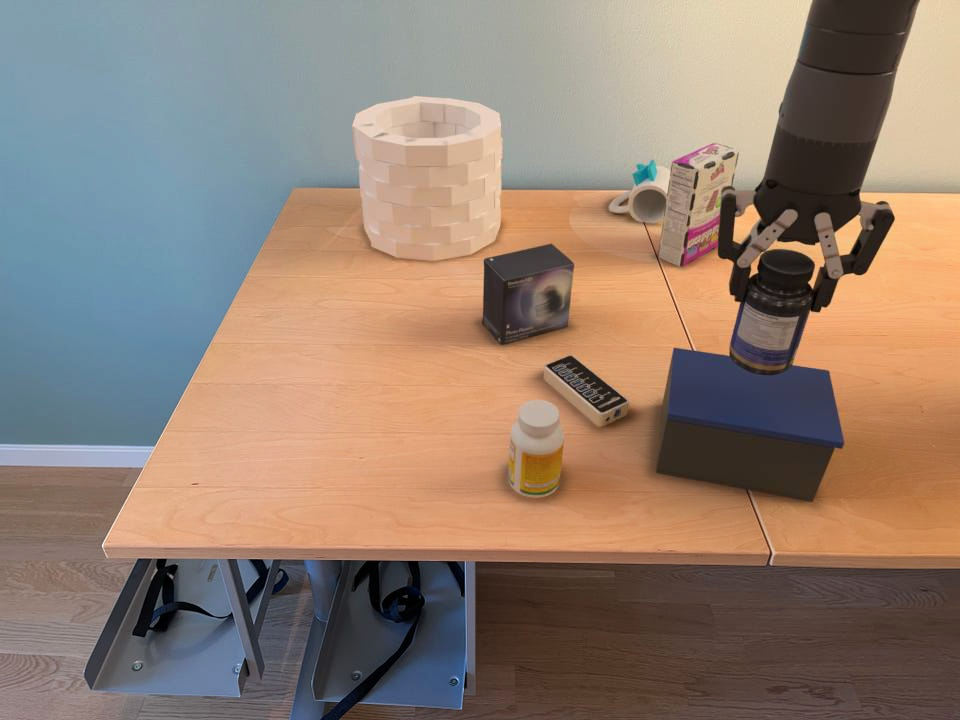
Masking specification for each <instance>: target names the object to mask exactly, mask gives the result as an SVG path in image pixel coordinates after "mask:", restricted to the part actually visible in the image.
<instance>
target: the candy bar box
mask: <svg viewBox="0 0 960 720" xmlns="http://www.w3.org/2000/svg"><path fill="white" fill-rule="evenodd" d="M739 155H740V150H739V149H738V148H733V147H731V146H727V145H722V144H721V143H717V142H712V143H710V144H708V145H705V146H704V147H701V148H698V149H696V150H695V151H692V152H690V153H687V154H686V155H683V156H681V157H679V158H676V159H674V160H672V161H671V165H670V171H671V173H670V180H669V186H668V193H667V199H666V207H665V214H664V219H663V220H662V227H661V234H660V240H659V248H658V252H657V253H658V254H657V258H659V259H662V260H664V261H666V262H668V263H670V264H673V265H675V266H677V267H679V268H683V267H685V266H687V265H688V264H691V263H692V262H694V261H695V260H697V259H699V258H701V257H703V256H704V255H705V254H708V253H710V252H711V251H713V250H715V249H716V248H717V249H718V230H719V216H720V203H721V191H722V189H723V188H724V187H726V186H732V187H733V183H734V178H735V174H736V169H737V163H738V160H739Z"/></svg>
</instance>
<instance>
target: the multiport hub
mask: <svg viewBox="0 0 960 720" xmlns="http://www.w3.org/2000/svg"><path fill="white" fill-rule="evenodd" d="M543 368H544V369H543V380H544V381H545V382H546V383H547V384H548V385H550V386H551V387H552V388H553V389H554V390H556V392H558V393H559V394H560V395H561V396H562V397H563V398H564V399H566V400H567V401H568V402H569V403H570V404H571V405H573V407H575V408H576V410H578V411H579V412H581V414H583V415H584V416H585V417H586V418H587V419H588V420H590V421H591V422H592V423H594V425H595V426H597V427H598V428H603V427H605V426H608V425H609V424H611V423H613V422H616V421H618V420H619V419H620V420H621V419H622V418H624V417H626V416H627V415H628V411H629V406H630V400H629V399H628V398H627V397H626V396H624V395H623V394H622V393H620V391H618V390H617V389H615V388H614V387H613V386H612V385H610V384H609V383H608V382H606V381H605V380H604V379H603V378H602V377H601V376H599V375H598V374H597V373H595V372H594V371H593V370H591V369H590V368H589V367H588V366H586V364H584V363H583V362H581V360H579V359H578V358H577V357H576V356H574V355H571V354H570V355H566V356H563V357H561V358H559V359H556V360H553V361H551V362H549V363H546V364H545V365H544V367H543Z"/></svg>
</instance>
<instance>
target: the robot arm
mask: <svg viewBox="0 0 960 720" xmlns="http://www.w3.org/2000/svg"><path fill="white" fill-rule="evenodd" d="M920 2H921V0H812V1H811V3H810V7H809V11H808V13H807V16H806V22H805V25H804V29H803V33H802V36H801V41H800V44H799V48H798V52H797V58H796V60H795V64H794V66H793V69H792V72H791V74H790V77H789V79H788V82H787V85H786V88H785V90H784V94H783V98H782V101H781V103H780V105H779V109H778V119H777V122H776V126H775V131H774V135H773V138H772V142H771V147H770V151H769V154H768V159H767V163H766V167H765V169H764V175H763V177H762V179H761V181H760V183H759V184H758V185H757V186H756V187H755V188H754V189H753V190H752V189H749V190H736V188H735V187H734V186H733V185H732V186H726V187H724V188H723V189H722V191H721V203H720V216H719V230H718V247H717V256H718V258H719V259H721V260H729V261H731V262H732V263H733V265H732V268H731V273H730V277H729V282H728V292H729V295H730V296H733V297H734V302H735V303H740V302H743V300H744V296H745V292H746V288H747V284H748V281H749V278H750V277H751V272H752V264H753V263H754V262H755V260H757V258H758V257H760V256H761V255H762V254H763V253H764V252H765V251H768V250H769V248H770V247H771V246H772V245H773V244H774V242H778V243H793V242H797V243H800V244H803V245H805V246H813V247H814V246H816V244H820V248H821V253H822V257H823V260H824V264H823V266H819V268H818V273H817V275H816V278H815V280H814V284H813V287H812V289H813V291H814V300H813V303H812V307H811V310H810V312H812V313H818V314H819V313H820V312H821V311H822V308H828V307H829V305H830V304H831V303H832V301H833V297H834V294H835V292H836V289H837V286H838V282H839V280H840V279H841V278H842V277H843V276H846V275H851V274H853V275H855V276H863V275H865V274H866V273H867V272H868V271H869V269H870V267H871V265H872V263H873V261H874V259H875V257H876V256H877V254H878V253H879V250H880V248H881V246H882V245H883V243H884V241H885V239H886V237H887V236H888V233H889V232H890V230H891V228H892V227H893V225H894V222H895V221H896V217H895V214H894V211H893V209H892V207H891V206H890V204H889V202H888V201H885V200H880V201H878V202H876V203H873V202H870V201H869V202H868V201H863V200H861V196H860V195H861V189H862V186H863V184H864V181H865V178H866V175H867V173H868V170H869V166H870V163H871V160H872V158H873V155H874V152H875V150H876V149H875V148H876V147H877V146H876V145H877V143H878V140H879V137H880V134H881V131H882V128H883V126H884V123H885V119H886V116H887V113H888V110H889V108H890V105H891V101H892V97H893V92H894V87H895V82H896V81H895V80H896V76H897V73H898V68H899V66H900V63H901V61H902V57H903V54H904V51H905V48H906V45H907V42H908V40H909V36H910V34H911V30H912V27H913V25H914V21H915V17H916V13H917V10H918V6H919V4H920ZM751 205H753V206H754V208H755V210H756V212H757V214H758V216H759V219H758V220H757V221H756V223H755V224H754V225H753V226H752V228H751V229H750V232H749V233H748V234H747V235H746V237H745V238H744V239H743V240H742V241H741V242H740V243H739V242H737V241H736V240H735V241H734V233H735V223H736V218H740V217H742V216H744V214H745V212H746V209H747V208H748V207H749V206H751ZM857 216H859V224H860V226H861V230H860V232H859V233H858V236H857V237H856V239H855V242H854V244H853V246H852V247H851V250H850V252H849V253H846V254H840V251H839V247H838V243H837V239H836V235H835V233H837V232H838V231H839V230H840V229H843V227H845V226H846V225H847V224H848V223H850V222H851V221H852V220H854V219H855V218H856V217H857Z"/></svg>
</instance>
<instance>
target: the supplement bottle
mask: <svg viewBox="0 0 960 720" xmlns="http://www.w3.org/2000/svg"><path fill="white" fill-rule="evenodd" d="M560 415H561V414H560V410H559V408H558V407H557V406H556V405H555V404H554V403H552V402H550V401H548V400H544V399H532V400H528V401H526V402H524V403H523V404H521V405H520V407H519V409H518V414H517V419H516V421H515V422H514V423H513V424H512V426H511V428H510V435H509V453H508V454H509V455H508V456H509V457H508V483H509V485H510V486H511V488H512V489H513V490H514V491H515V492H516V493H517V494H519V495H520V496H523V497H528V498H532V499H533V498H536V499H538V498H545V497H547V496H550V495H552V494H553V493H555V492H556V490H557V489H558V488H559V485H560V481H561V472H562V462H563V455H564V444H565V432H564V429H563V427H562V425H561V424H560V418H561V417H560Z"/></svg>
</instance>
